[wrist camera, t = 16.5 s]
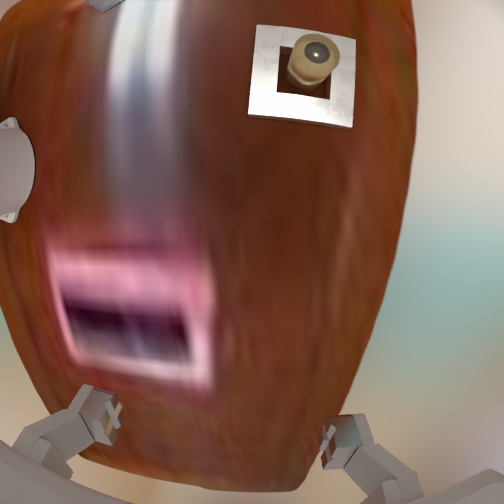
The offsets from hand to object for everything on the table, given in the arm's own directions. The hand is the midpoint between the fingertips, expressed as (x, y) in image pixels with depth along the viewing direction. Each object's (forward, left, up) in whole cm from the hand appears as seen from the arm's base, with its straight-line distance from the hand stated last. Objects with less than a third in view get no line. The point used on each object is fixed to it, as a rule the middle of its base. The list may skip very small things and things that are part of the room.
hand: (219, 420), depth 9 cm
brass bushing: (+5, +20, -29) cm, 36 cm away
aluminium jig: (+5, +20, -29) cm, 36 cm away
